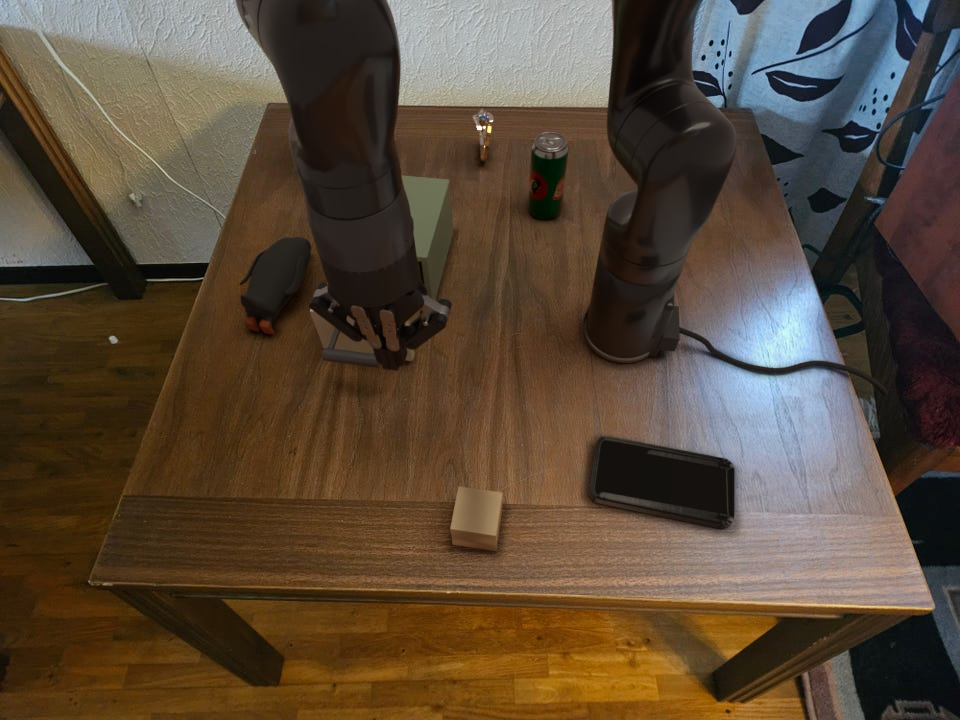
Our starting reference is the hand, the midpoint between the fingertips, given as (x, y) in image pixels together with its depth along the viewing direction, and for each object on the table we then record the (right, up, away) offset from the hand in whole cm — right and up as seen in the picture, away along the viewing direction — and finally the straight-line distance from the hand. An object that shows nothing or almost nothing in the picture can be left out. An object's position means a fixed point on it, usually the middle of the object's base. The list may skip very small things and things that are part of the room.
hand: (393, 362), depth 63 cm
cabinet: (-3, +14, +26) cm, 30 cm away
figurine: (-18, +9, +24) cm, 31 cm away
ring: (+9, +33, +40) cm, 53 cm away
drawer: (-5, +4, +19) cm, 20 cm away
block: (+8, -17, +4) cm, 20 cm away
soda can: (+18, +23, +33) cm, 44 cm away
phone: (+28, -13, +7) cm, 32 cm away
